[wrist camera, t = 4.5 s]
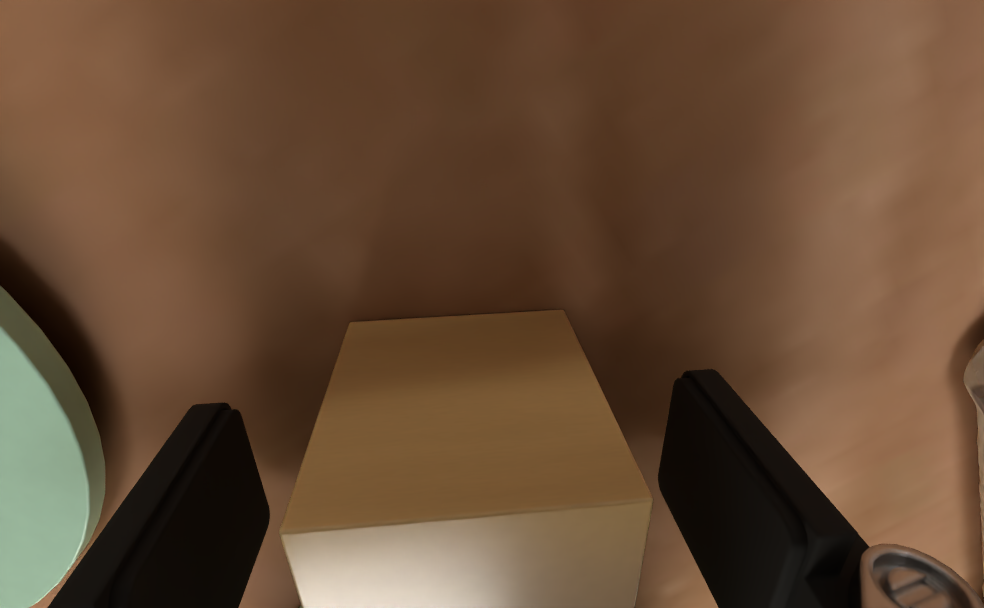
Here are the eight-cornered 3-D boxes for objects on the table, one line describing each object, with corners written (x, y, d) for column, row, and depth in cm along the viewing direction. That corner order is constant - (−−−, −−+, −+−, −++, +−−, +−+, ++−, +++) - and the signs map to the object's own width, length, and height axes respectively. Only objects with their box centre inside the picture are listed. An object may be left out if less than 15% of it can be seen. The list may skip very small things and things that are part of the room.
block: (348, 320, 10) (276, 532, 6) (563, 308, 10) (655, 499, 6) (375, 481, 12) (337, 731, 8) (556, 466, 12) (620, 698, 8)
